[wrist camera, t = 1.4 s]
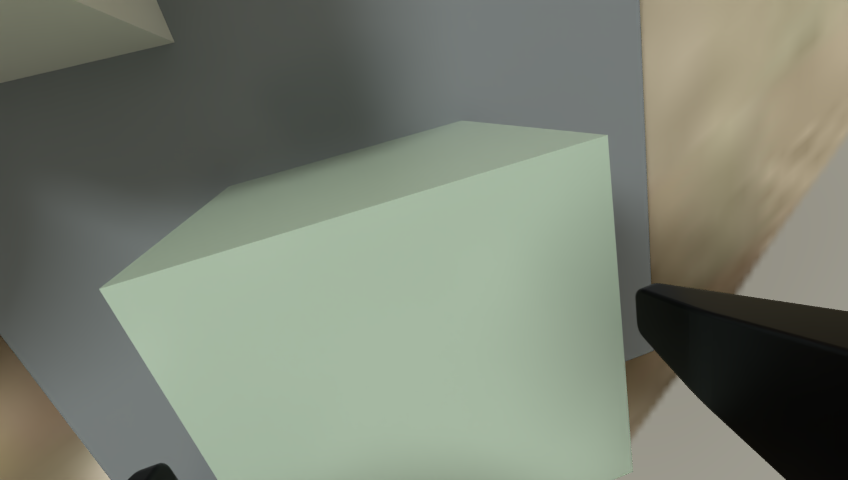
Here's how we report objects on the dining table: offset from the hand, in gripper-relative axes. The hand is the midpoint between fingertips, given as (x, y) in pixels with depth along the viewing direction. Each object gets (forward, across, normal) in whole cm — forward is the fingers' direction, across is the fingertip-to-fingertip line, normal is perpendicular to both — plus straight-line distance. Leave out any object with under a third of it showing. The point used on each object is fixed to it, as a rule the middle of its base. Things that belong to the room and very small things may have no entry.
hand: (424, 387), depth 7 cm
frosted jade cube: (+6, 0, 0) cm, 6 cm away
